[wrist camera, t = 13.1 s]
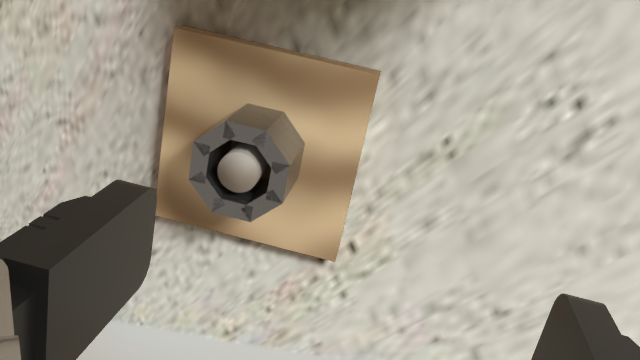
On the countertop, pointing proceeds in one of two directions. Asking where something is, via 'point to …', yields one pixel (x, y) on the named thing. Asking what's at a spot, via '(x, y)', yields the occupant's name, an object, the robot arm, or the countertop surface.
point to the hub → (274, 144)
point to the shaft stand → (246, 160)
